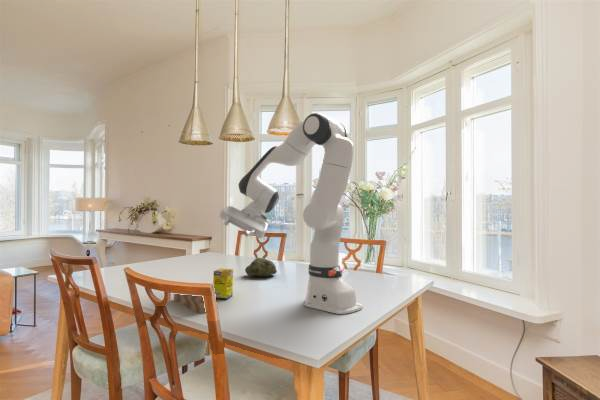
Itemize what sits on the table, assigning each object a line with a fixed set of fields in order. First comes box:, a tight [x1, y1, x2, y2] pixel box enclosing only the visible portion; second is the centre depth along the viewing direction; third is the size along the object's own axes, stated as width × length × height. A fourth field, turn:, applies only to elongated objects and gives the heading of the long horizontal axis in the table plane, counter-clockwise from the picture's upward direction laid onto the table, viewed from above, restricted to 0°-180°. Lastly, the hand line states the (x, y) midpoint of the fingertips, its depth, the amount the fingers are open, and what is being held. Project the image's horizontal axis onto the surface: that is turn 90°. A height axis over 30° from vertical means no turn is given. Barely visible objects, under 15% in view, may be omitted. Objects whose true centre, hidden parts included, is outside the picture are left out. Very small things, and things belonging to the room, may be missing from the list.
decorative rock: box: [244, 257, 277, 278], centre depth 177 cm, size 15×16×10 cm
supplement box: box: [212, 267, 234, 301], centre depth 136 cm, size 6×6×11 cm
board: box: [173, 293, 206, 315], centre depth 125 cm, size 22×3×6 cm, turn 42°
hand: (236, 229), depth 136 cm, fingers open, 8 cm apart
